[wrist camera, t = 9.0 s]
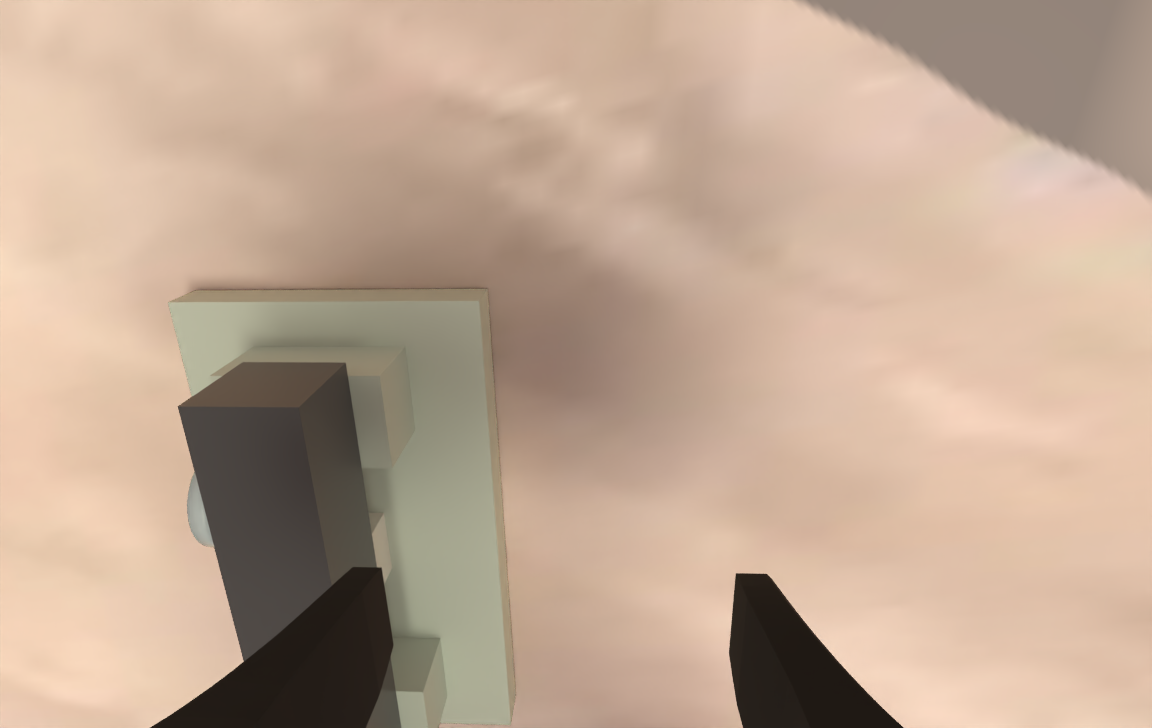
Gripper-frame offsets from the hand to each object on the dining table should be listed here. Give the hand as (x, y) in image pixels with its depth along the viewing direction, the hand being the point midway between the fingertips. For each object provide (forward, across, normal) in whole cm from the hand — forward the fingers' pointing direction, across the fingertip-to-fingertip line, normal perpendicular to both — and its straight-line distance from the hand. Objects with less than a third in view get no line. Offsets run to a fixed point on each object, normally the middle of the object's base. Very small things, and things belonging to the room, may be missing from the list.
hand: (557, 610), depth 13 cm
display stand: (+10, +8, +5) cm, 14 cm away
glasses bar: (+6, +8, +5) cm, 11 cm away
